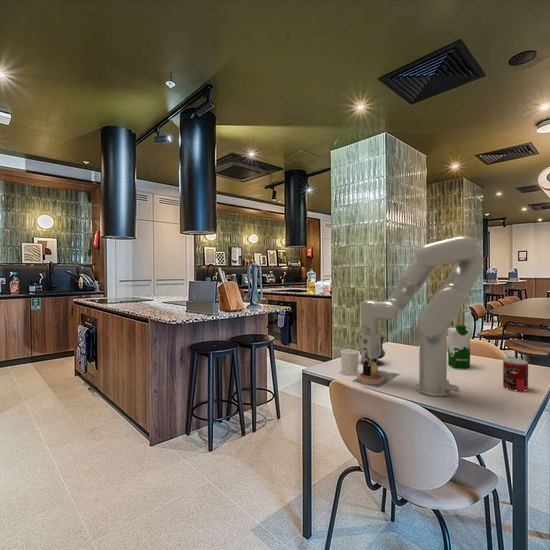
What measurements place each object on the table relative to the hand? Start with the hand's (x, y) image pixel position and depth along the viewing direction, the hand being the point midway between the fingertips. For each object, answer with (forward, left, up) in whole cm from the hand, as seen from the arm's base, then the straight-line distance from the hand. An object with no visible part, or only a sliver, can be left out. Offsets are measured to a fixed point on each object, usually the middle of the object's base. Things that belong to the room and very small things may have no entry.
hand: (370, 372), depth 144 cm
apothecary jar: (+11, -26, -4) cm, 29 cm away
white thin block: (0, -7, -4) cm, 8 cm away
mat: (0, -6, -4) cm, 7 cm away
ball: (0, 0, -1) cm, 1 cm away
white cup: (+12, -5, -4) cm, 14 cm away
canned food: (-47, -28, -4) cm, 55 cm away
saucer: (0, 0, -4) cm, 4 cm away
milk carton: (-23, -47, -4) cm, 52 cm away
